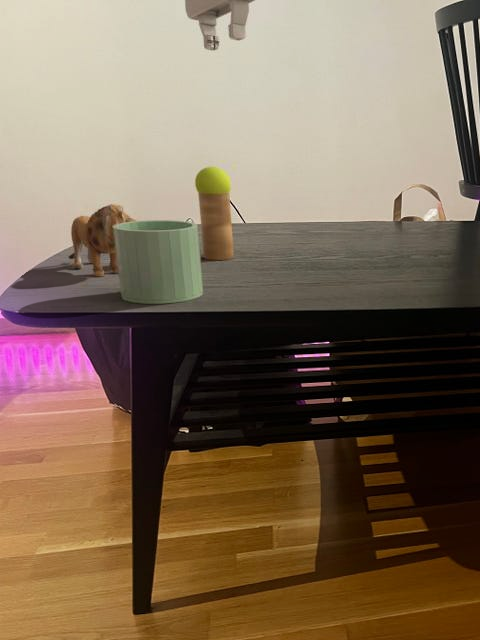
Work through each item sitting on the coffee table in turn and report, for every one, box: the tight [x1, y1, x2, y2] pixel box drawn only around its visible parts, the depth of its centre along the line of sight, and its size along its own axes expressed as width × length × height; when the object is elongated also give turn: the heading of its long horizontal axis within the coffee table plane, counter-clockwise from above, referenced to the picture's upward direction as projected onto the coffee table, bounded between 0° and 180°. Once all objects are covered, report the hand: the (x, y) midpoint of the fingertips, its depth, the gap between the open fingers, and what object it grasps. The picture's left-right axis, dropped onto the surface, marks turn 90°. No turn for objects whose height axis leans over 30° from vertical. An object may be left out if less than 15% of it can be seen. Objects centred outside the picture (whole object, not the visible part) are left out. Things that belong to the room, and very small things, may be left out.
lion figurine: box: [67, 203, 137, 278], centre depth 91 cm, size 15×5×9 cm, turn 57°
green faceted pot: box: [112, 219, 204, 305], centre depth 80 cm, size 9×9×8 cm
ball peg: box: [194, 166, 235, 261], centre depth 102 cm, size 5×5×13 cm
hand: (224, 44), depth 99 cm, fingers open, 8 cm apart
